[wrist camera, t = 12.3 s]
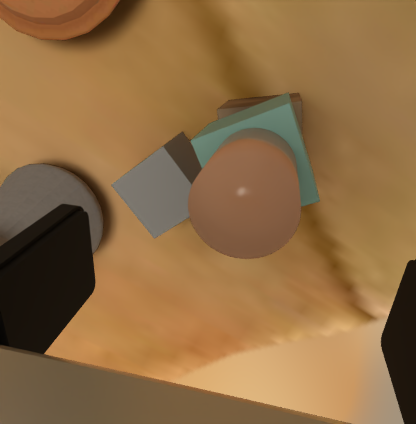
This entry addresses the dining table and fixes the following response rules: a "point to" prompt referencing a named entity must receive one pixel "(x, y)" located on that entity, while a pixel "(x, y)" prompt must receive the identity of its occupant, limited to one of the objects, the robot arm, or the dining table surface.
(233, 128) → the tower top
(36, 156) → the dining table surface
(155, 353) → the dining table surface
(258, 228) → the pink rounded piece
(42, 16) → the pie
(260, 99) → the block
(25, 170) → the coffee pot
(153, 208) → the block
